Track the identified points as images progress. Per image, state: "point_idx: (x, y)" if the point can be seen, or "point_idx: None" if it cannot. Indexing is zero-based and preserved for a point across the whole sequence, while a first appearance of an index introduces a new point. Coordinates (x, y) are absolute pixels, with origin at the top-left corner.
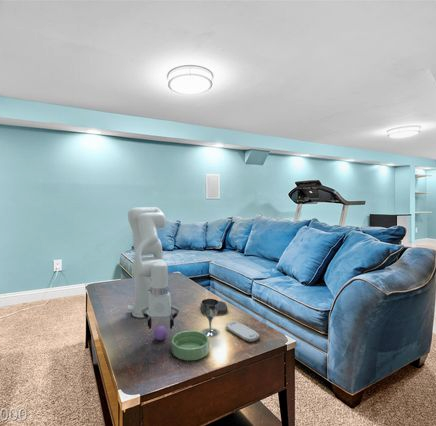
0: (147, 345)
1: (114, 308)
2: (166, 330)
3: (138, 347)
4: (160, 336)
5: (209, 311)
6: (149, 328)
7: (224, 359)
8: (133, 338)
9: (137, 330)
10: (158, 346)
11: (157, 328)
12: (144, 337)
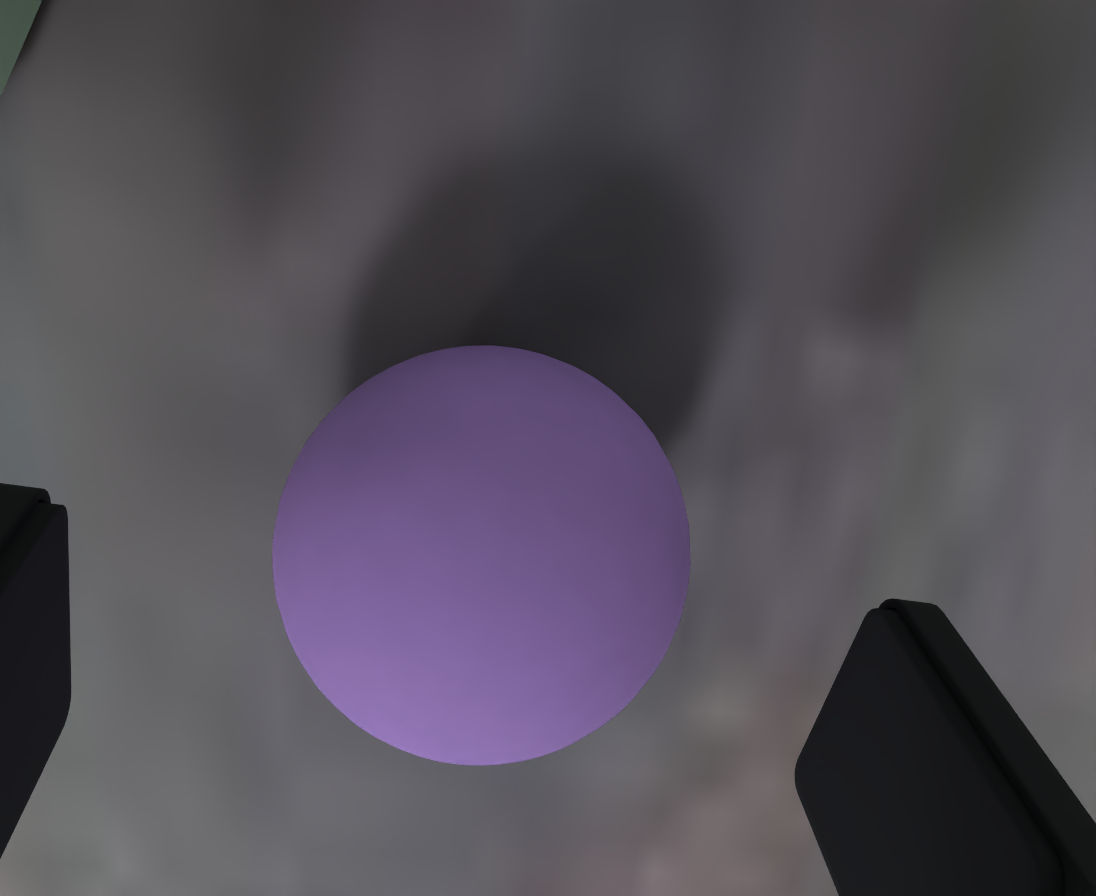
0: (842, 240)
1: None
2: (279, 593)
3: (1084, 183)
4: (493, 361)
5: None
6: (919, 610)
7: None
8: (1086, 595)
9: None
10: (555, 127)
11: (600, 634)
12: (848, 603)
